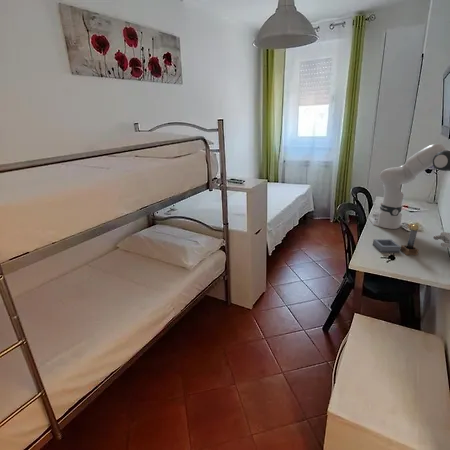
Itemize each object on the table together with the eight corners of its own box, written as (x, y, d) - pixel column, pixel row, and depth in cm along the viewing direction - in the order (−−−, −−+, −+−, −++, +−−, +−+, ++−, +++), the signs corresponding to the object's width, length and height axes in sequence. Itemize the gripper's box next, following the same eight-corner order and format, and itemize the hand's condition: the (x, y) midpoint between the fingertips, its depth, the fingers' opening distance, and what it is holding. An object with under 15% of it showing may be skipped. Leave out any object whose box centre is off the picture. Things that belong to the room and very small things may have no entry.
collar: (400, 250, 168) (401, 245, 167) (411, 250, 168) (412, 245, 167) (406, 255, 163) (407, 249, 162) (417, 255, 163) (418, 250, 162)
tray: (372, 244, 175) (373, 239, 174) (390, 245, 175) (391, 239, 174) (380, 252, 165) (382, 246, 164) (399, 252, 165) (400, 246, 164)
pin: (403, 251, 167) (409, 223, 162) (410, 251, 167) (416, 223, 162) (407, 254, 164) (413, 225, 158) (413, 254, 164) (420, 226, 158)
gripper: (459, 230, 166) (431, 228, 168) (480, 245, 147) (447, 242, 150) (456, 241, 168) (428, 238, 171) (476, 257, 149) (444, 254, 152)
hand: (437, 240), depth 160 cm, fingers open, 8 cm apart
